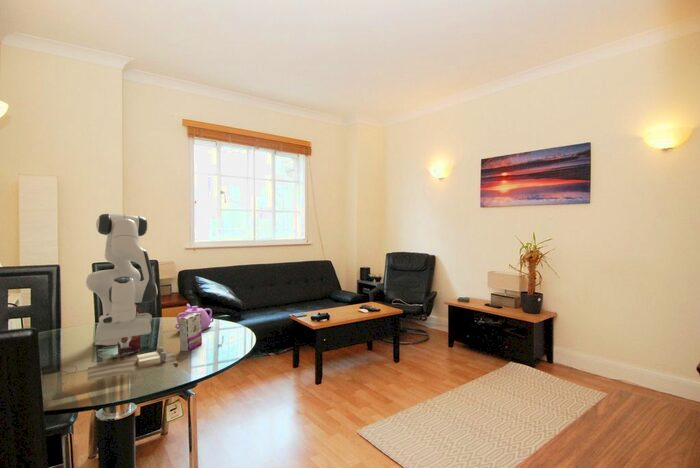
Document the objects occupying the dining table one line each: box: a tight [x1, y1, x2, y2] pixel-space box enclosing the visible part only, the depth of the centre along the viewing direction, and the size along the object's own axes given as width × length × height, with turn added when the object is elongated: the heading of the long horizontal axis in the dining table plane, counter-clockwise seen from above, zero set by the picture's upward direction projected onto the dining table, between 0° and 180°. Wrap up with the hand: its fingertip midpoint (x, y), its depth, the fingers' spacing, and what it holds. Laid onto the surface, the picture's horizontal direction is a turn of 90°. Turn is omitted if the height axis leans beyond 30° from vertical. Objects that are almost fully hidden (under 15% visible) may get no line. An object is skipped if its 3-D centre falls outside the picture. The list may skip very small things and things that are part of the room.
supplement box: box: [117, 335, 141, 356], centre depth 173 cm, size 9×5×16 cm, turn 136°
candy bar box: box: [178, 313, 203, 352], centre depth 182 cm, size 11×5×16 cm, turn 168°
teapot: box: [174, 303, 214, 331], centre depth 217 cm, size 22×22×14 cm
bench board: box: [87, 346, 179, 383], centre depth 156 cm, size 18×32×6 cm, turn 125°
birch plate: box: [136, 351, 161, 368], centre depth 160 cm, size 10×8×2 cm
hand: (124, 347), depth 155 cm, fingers closed
